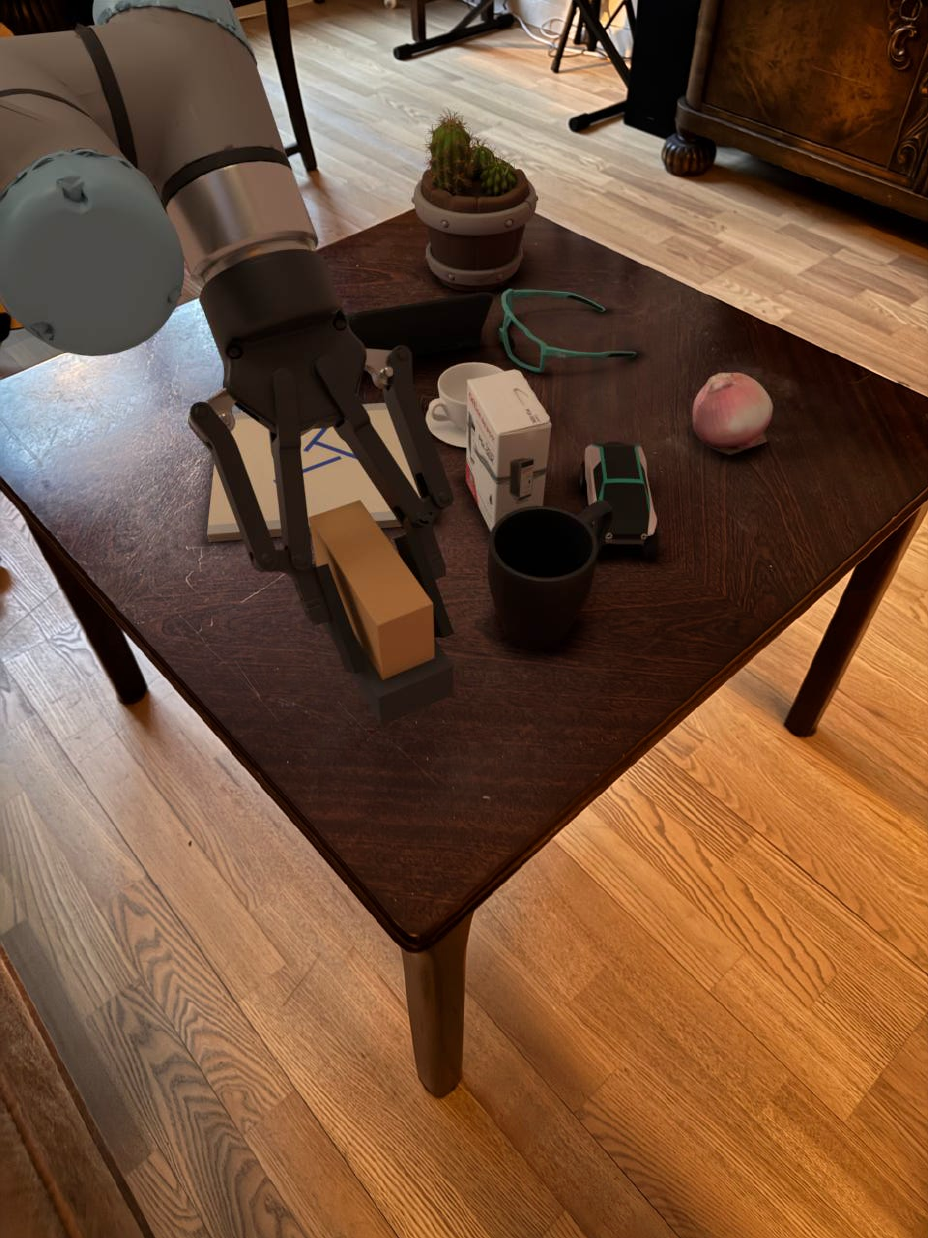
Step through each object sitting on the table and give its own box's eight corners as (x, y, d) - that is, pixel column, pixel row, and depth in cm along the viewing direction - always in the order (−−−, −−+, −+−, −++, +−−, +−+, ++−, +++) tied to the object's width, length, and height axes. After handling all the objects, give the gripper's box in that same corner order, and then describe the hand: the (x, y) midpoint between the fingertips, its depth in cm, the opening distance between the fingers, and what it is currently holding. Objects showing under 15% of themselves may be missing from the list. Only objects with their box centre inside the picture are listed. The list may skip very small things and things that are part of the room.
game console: (459, 307, 105) (460, 233, 98) (494, 368, 97) (496, 292, 90) (333, 325, 102) (324, 250, 95) (356, 391, 94) (348, 313, 87)
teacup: (492, 384, 94) (494, 345, 91) (539, 434, 89) (543, 395, 85) (409, 409, 91) (407, 370, 88) (453, 463, 86) (452, 423, 82)
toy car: (639, 476, 84) (647, 431, 80) (654, 564, 77) (665, 519, 73) (578, 475, 85) (584, 430, 80) (588, 563, 77) (595, 518, 73)
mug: (635, 604, 73) (654, 521, 66) (535, 680, 68) (544, 598, 61) (564, 553, 77) (575, 469, 70) (464, 622, 72) (465, 538, 65)
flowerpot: (497, 236, 117) (503, 68, 102) (553, 288, 108) (568, 112, 93) (398, 258, 113) (388, 86, 98) (446, 314, 104) (444, 134, 89)
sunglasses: (480, 318, 103) (485, 278, 100) (596, 313, 107) (605, 274, 103) (515, 384, 94) (522, 342, 91) (640, 377, 98) (651, 336, 94)
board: (209, 542, 78) (206, 533, 77) (221, 421, 90) (219, 413, 89) (430, 524, 80) (429, 516, 79) (413, 408, 92) (413, 400, 91)
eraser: (381, 727, 53) (372, 643, 47) (306, 598, 60) (290, 510, 54) (453, 695, 54) (454, 610, 48) (373, 573, 61) (364, 486, 55)
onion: (701, 408, 92) (716, 348, 86) (773, 430, 89) (793, 369, 84) (675, 450, 87) (690, 389, 82) (751, 474, 85) (771, 412, 79)
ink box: (463, 480, 84) (463, 374, 75) (510, 470, 85) (516, 365, 76) (492, 540, 79) (497, 433, 70) (543, 528, 80) (553, 422, 71)
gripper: (385, 261, 56) (504, 601, 59) (102, 331, 50) (249, 704, 53) (421, 210, 49) (553, 599, 52) (95, 285, 43) (265, 718, 46)
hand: (399, 651), depth 52 cm, fingers closed on eraser, 5 cm apart
